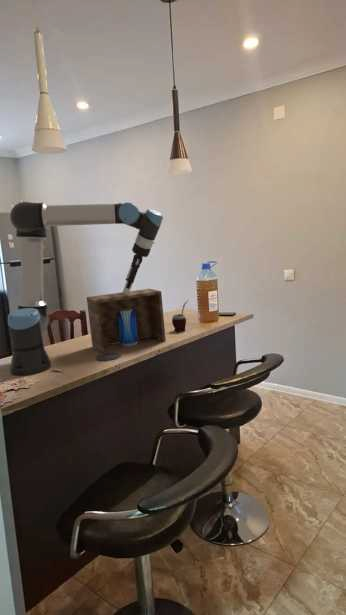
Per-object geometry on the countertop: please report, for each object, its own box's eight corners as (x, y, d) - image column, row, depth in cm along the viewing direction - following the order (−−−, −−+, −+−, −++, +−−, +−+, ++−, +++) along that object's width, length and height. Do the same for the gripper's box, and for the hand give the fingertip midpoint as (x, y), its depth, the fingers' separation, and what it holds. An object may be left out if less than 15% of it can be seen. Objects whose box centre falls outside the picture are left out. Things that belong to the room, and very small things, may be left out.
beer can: (120, 343, 192) (116, 309, 190) (138, 341, 193) (134, 307, 191) (120, 347, 184) (116, 312, 182) (138, 345, 185) (135, 310, 182)
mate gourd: (170, 332, 206) (167, 302, 204) (178, 328, 213) (175, 300, 211) (183, 332, 203) (180, 302, 200) (190, 329, 209) (188, 300, 207)
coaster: (99, 362, 163) (99, 361, 163) (93, 357, 172) (93, 355, 172) (123, 357, 167) (123, 356, 167) (116, 352, 176) (116, 351, 176)
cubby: (100, 353, 176) (94, 300, 173) (92, 346, 190) (86, 297, 186) (165, 341, 188) (161, 291, 185) (153, 335, 202) (148, 288, 198)
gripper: (149, 258, 166) (132, 302, 175) (152, 239, 188) (136, 278, 197) (132, 252, 165) (115, 296, 174) (136, 233, 187) (121, 273, 196)
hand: (126, 287), depth 186 cm, fingers open, 13 cm apart
